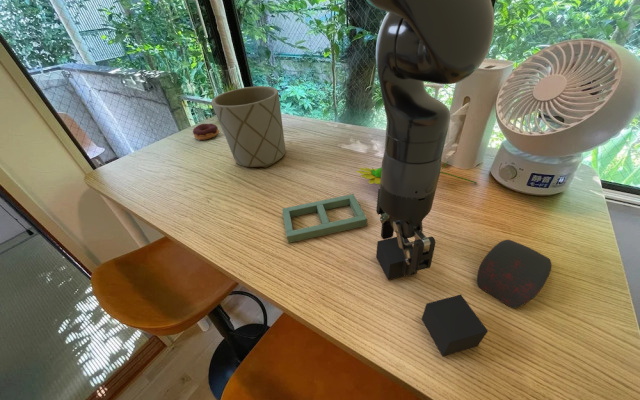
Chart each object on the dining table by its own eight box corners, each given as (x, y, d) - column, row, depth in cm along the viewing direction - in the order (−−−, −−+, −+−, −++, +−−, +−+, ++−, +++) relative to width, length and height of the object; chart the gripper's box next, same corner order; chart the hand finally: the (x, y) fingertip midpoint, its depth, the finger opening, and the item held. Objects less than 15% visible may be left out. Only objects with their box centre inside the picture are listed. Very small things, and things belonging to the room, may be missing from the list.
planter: (298, 146, 89) (289, 86, 77) (271, 175, 75) (254, 107, 63) (252, 141, 95) (237, 85, 83) (220, 167, 82) (196, 105, 69)
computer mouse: (468, 281, 43) (475, 266, 40) (503, 239, 49) (510, 224, 47) (523, 315, 38) (534, 301, 35) (554, 264, 44) (565, 248, 42)
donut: (214, 140, 99) (210, 131, 97) (190, 141, 101) (186, 132, 98) (223, 130, 107) (220, 121, 105) (201, 131, 108) (198, 122, 106)
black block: (477, 346, 35) (488, 331, 32) (442, 356, 35) (449, 342, 32) (453, 310, 39) (460, 294, 37) (421, 319, 39) (426, 303, 36)
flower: (455, 191, 72) (354, 165, 71) (471, 163, 68) (363, 134, 67) (475, 213, 61) (355, 181, 60) (495, 181, 57) (367, 146, 56)
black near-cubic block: (416, 273, 45) (420, 257, 42) (387, 280, 44) (390, 264, 42) (402, 250, 49) (405, 234, 46) (376, 257, 49) (377, 241, 46)
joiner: (367, 225, 55) (367, 218, 54) (288, 243, 53) (286, 236, 52) (353, 200, 63) (353, 193, 62) (283, 214, 61) (282, 208, 60)
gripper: (364, 160, 40) (363, 231, 50) (408, 218, 29) (395, 294, 39) (408, 151, 41) (398, 223, 51) (466, 204, 30) (439, 282, 40)
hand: (396, 254), depth 45 cm, fingers open, 8 cm apart
